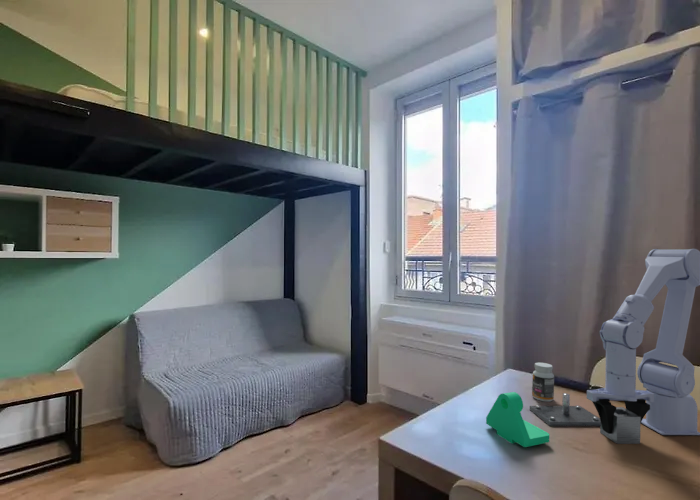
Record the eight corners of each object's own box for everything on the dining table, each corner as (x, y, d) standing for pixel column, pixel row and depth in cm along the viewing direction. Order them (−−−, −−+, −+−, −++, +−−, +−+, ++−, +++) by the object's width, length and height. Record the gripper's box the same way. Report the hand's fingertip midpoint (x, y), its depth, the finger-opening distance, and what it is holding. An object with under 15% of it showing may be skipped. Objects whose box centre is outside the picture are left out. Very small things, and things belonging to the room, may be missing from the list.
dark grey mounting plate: (580, 409, 105) (580, 387, 105) (605, 426, 95) (606, 401, 95) (529, 409, 104) (529, 387, 104) (549, 426, 94) (550, 401, 94)
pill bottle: (527, 396, 115) (528, 362, 115) (543, 394, 116) (543, 361, 116) (542, 403, 109) (543, 368, 109) (558, 401, 111) (559, 366, 111)
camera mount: (551, 446, 85) (552, 399, 85) (524, 452, 82) (525, 403, 82) (511, 423, 96) (511, 382, 96) (486, 428, 93) (486, 385, 93)
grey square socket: (622, 432, 92) (622, 407, 92) (640, 443, 86) (640, 416, 86) (600, 432, 91) (600, 407, 91) (616, 443, 86) (617, 416, 86)
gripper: (601, 378, 85) (600, 440, 85) (665, 378, 85) (665, 440, 85) (581, 368, 92) (580, 425, 92) (640, 368, 92) (639, 425, 92)
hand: (619, 431), depth 89 cm, fingers closed on grey square socket, 5 cm apart
